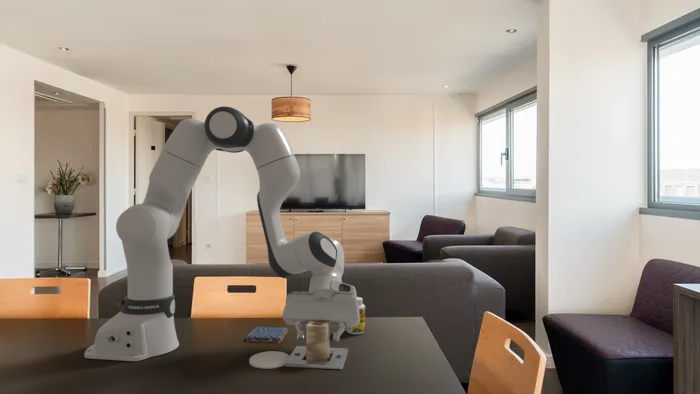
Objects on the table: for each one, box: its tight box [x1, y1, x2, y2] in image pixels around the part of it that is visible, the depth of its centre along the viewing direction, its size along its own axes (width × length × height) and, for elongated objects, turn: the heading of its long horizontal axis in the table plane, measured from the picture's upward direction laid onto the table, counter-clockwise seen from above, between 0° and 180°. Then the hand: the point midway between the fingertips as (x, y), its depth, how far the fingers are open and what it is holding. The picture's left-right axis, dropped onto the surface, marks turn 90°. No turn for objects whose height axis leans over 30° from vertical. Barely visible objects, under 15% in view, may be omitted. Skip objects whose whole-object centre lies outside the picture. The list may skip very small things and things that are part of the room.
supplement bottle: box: [346, 296, 366, 335], centre depth 133 cm, size 6×6×10 cm
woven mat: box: [246, 325, 290, 343], centre depth 129 cm, size 10×11×2 cm
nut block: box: [305, 320, 331, 361], centre depth 112 cm, size 5×5×9 cm
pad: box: [248, 350, 290, 370], centre depth 110 cm, size 10×10×1 cm
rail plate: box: [284, 345, 349, 370], centre depth 112 cm, size 14×12×1 cm
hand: (317, 339), depth 111 cm, fingers open, 8 cm apart
